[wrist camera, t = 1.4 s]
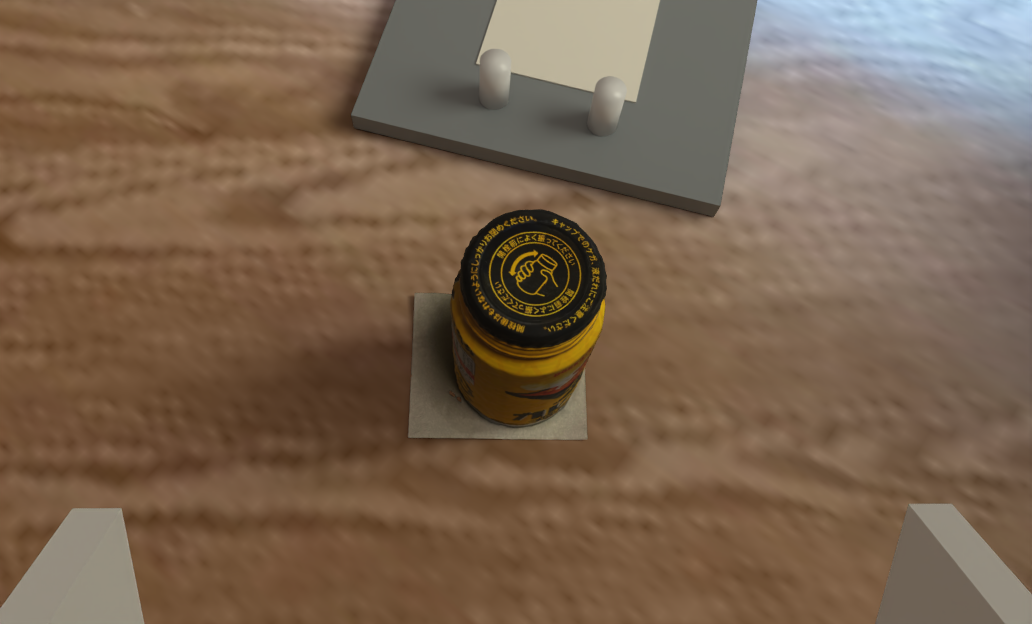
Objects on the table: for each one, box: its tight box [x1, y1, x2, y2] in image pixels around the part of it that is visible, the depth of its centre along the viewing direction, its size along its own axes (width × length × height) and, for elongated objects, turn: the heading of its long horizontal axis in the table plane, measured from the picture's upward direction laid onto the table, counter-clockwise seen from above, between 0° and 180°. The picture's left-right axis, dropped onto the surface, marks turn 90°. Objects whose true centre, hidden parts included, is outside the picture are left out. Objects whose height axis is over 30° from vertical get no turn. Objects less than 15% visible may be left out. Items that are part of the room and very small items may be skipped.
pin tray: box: [351, 0, 757, 217], centre depth 45 cm, size 20×18×4 cm
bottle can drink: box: [408, 209, 607, 440], centre depth 34 cm, size 7×8×12 cm
